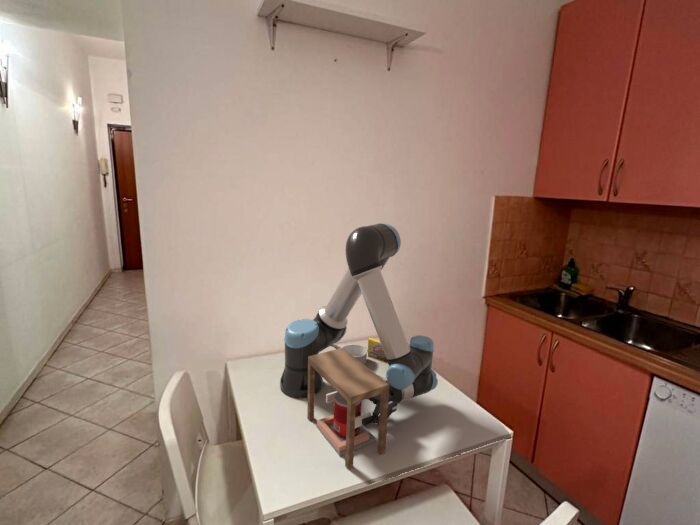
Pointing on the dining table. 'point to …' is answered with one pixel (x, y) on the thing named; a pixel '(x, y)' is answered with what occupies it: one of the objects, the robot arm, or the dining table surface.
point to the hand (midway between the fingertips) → (337, 411)
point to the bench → (349, 391)
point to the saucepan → (355, 351)
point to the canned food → (343, 415)
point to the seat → (338, 442)
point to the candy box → (376, 350)
